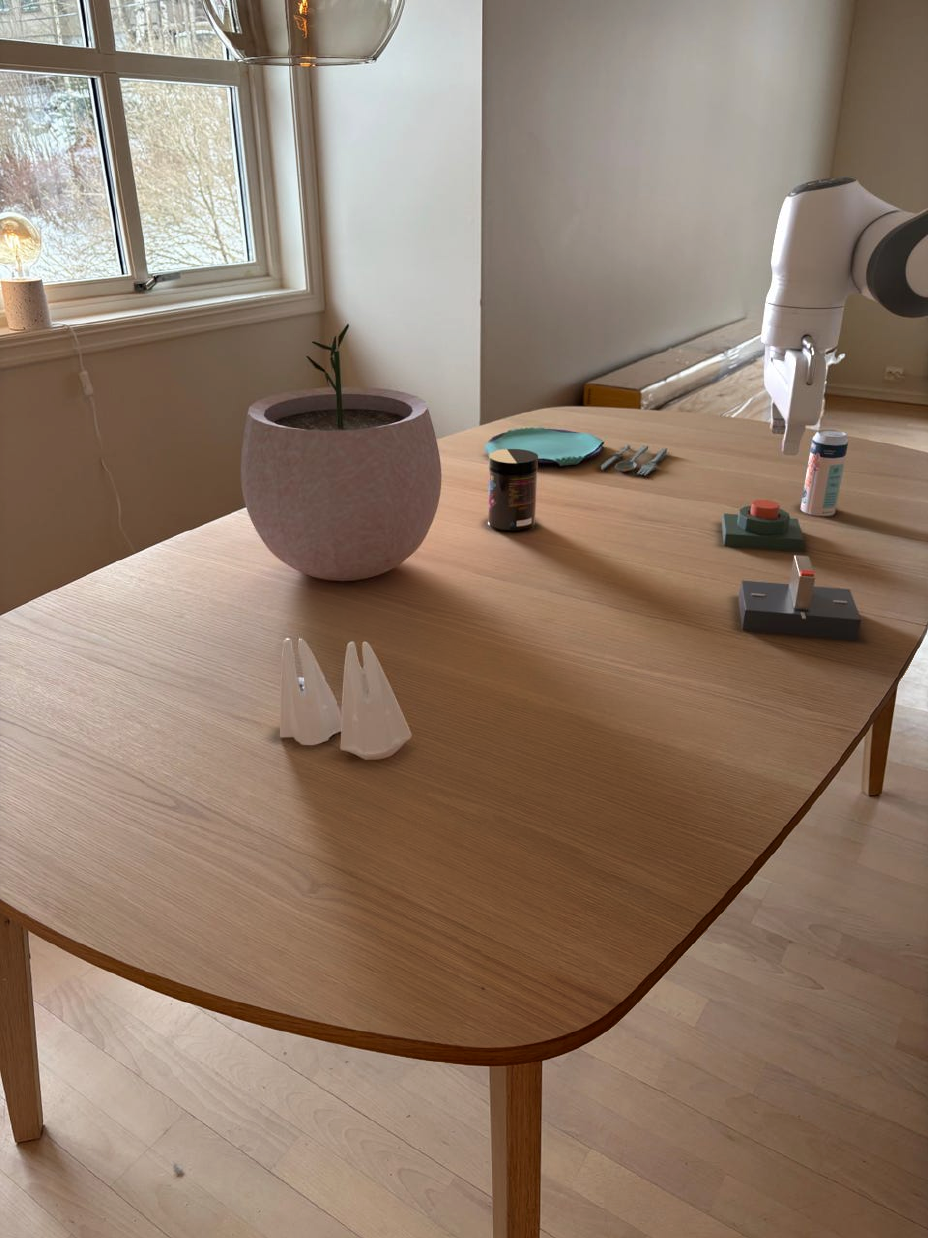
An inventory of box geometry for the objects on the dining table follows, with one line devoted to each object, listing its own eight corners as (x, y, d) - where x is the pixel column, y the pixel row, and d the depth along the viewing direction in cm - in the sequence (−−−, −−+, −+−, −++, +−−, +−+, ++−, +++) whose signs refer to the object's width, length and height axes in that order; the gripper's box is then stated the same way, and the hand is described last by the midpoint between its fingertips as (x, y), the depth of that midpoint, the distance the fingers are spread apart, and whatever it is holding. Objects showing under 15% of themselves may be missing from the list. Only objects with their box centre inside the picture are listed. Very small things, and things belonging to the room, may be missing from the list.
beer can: (806, 505, 142) (819, 426, 137) (838, 512, 140) (853, 432, 135) (795, 514, 139) (809, 434, 134) (828, 521, 136) (844, 439, 131)
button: (776, 512, 129) (778, 500, 128) (778, 521, 126) (780, 509, 125) (749, 510, 130) (750, 498, 129) (750, 519, 127) (752, 507, 126)
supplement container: (514, 515, 138) (516, 445, 134) (545, 529, 133) (548, 457, 129) (477, 525, 134) (478, 454, 130) (508, 540, 130) (510, 466, 125)
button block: (795, 533, 132) (799, 506, 130) (801, 555, 125) (806, 526, 123) (721, 527, 134) (724, 501, 132) (723, 549, 127) (727, 520, 125)
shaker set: (415, 752, 84) (412, 641, 79) (391, 777, 81) (387, 663, 76) (303, 719, 89) (294, 613, 84) (276, 741, 86) (265, 632, 81)
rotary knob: (788, 587, 109) (794, 552, 107) (803, 588, 108) (809, 553, 107) (794, 609, 103) (800, 573, 102) (809, 610, 103) (815, 575, 101)
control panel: (843, 608, 111) (848, 583, 109) (857, 649, 102) (863, 622, 100) (737, 599, 113) (740, 575, 111) (742, 638, 104) (746, 612, 103)
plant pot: (329, 523, 135) (315, 303, 122) (476, 556, 124) (478, 319, 111) (210, 583, 116) (178, 331, 103) (370, 628, 106) (358, 353, 92)
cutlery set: (514, 433, 178) (515, 421, 177) (672, 454, 166) (674, 441, 165) (468, 461, 162) (468, 448, 161) (639, 487, 150) (641, 473, 149)
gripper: (847, 345, 103) (825, 468, 109) (813, 315, 121) (796, 423, 127) (786, 344, 104) (768, 466, 110) (762, 314, 122) (747, 421, 128)
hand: (783, 442), depth 119 cm, fingers open, 8 cm apart
